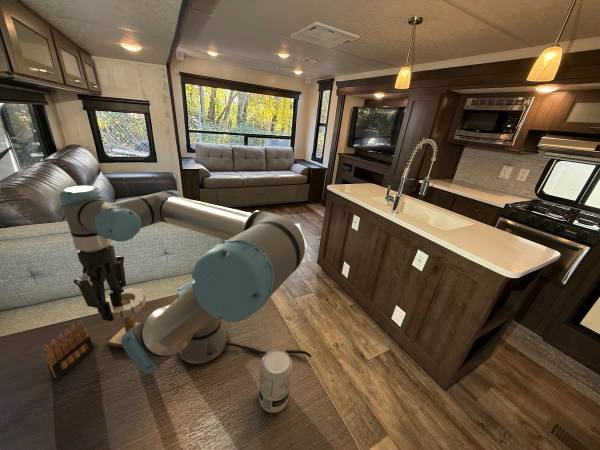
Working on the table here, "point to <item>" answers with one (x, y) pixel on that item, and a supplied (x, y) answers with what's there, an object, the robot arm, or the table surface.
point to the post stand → (128, 324)
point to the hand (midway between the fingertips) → (113, 315)
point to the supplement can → (275, 380)
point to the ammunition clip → (68, 350)
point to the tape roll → (129, 308)
